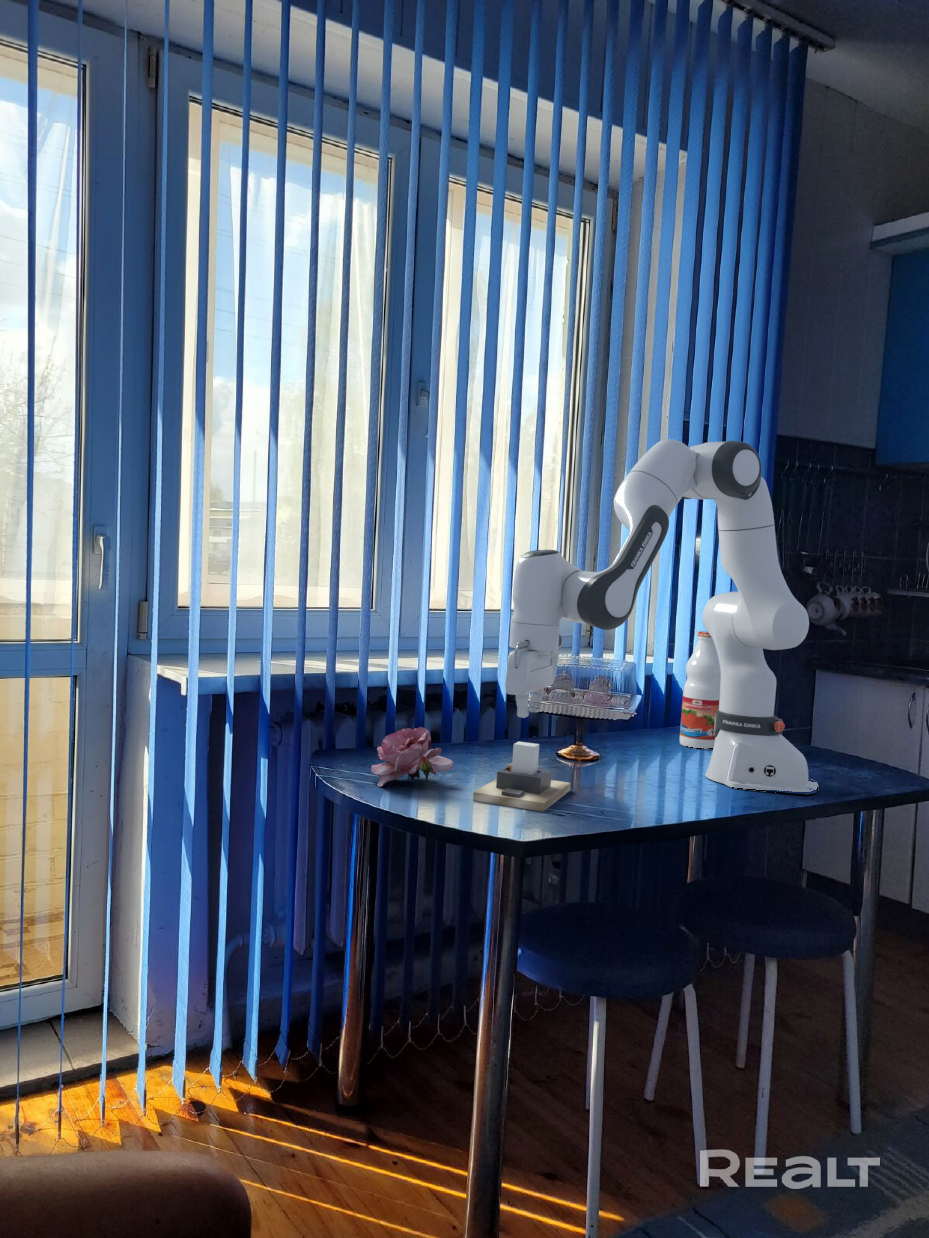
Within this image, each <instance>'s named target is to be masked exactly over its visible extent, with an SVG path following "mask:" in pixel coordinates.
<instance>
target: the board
mask: <svg viewBox="0 0 929 1238" xmlns="http://www.w3.org/2000/svg"><path fill="white" fill-rule="evenodd" d="M496 783H497V778H495V779H493V780H492V781H490V782H488V783H486V784H485V785H483V786H482V787H480V788H478V789H477V790H475V791H473V795H472V801H475V802H480V803H487V804H492V805H493V804H494V805H499V806H507V807H512V808H519V809H525V810H531V811H537V812H545V811H546V810H547V809H549V808H550V807H551V806H552V805H554V804H555V803H557V802H558V801H559V800H560V799H561V798H562V797H564V796H565V795H566V794H567V793H569V792H570V791H571V782H566V781H561V780H554V779H553V780H552V779H551V787H549V788H548V789H547V790H545V791H544V792H542V793H541V794H540V795H539V794H532V793H526V792H524V791H523V790H517V789H510V788H507V789H499V788H496Z"/></svg>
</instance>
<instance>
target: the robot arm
mask: <svg viewBox="0 0 929 1238" xmlns="http://www.w3.org/2000/svg"><path fill="white" fill-rule="evenodd" d="M762 469H763V468H762V462H761V459H760V457H759V454H758V452H757V450H756V449H755V448H754V447H753V445H751V444H749V443H746V442H743V441H738V440H729V441H728V440H727V441H708V442H703V443H701V444H696V445H695V444H694V445H691V446H688V445H687V444H685V443H684V442H683V441H680V440H677V439H673V438H665V439H661V440H659V441H658V442H656V443H655V444H654V445H653V446H651V448H649V449H648V450H647V451H646V452H645V453H644V454H643V455H642V457H641V458H640V459H639V460H638V461H637V462H636V463H635V465H633V466H632V468H631V470H630V471H629V472H628V474H627V475H626V476H625V478H624V479H623V480H622V482H621V483H620V485H619V487H618V488H617V490H616V492H615V495H614V498H613V508H614V512H615V515H616V517H617V518H618V520H619V521H620V522H621V524H622V525H623V526H624V527H625V528H626V529H627V530H628V531H629V533H628V535H627V538H626V539H625V541H624V542H623V545H622V546H621V548H620V549H619V552H618V554H617V555H616V556H615V559H614V561H613V562H612V564H611V565H610V566H608V567H607V568H605V569H603V570H601V571H588V570H582V568H579V567H577V566H575V565H574V564H572V563H570V562H569V561H568V560H566V559H565V557H564V556H562V553H561V552H560V551H559V550H556V549H535V550H530V551H526V552H525V553H523V554H522V555H520V556H519V558H518V560H517V563H516V566H515V567H516V568H515V570H514V571H515V572H514V578H513V584H512V585H513V586H512V602H513V613H512V614H511V615H512V616H511V619H510V626H509V627H510V630H509V631H510V632H509V644H508V646H509V647H510V648H511V649H512V648H513V649H514V650H512V651H510V653H509V655H508V659H507V660H508V661H507V665H506V673H505V674H506V675H505V682H504V687H505V693H506V694H507V695H515V702H516V708H517V709H516V711H517V712H516V716H517V717H518V718H522V719H525V718H527V717H529V714H530V713H538V712H541V704H542V700H543V698H544V697H543V696H544V693H545V688H546V687H550V686H553V684H554V683H555V679H556V676H557V675H556V674H557V670H558V664H559V662H558V661H559V653H560V651H559V649H560V648H562V646H563V635H562V634H561V633H560V624H561V623H560V621H561V620H564V621H568V622H574V623H577V624H582V625H589V626H590V627H594V628H596V629H597V628H598V629H600V630H604V631H605V630H606V631H610V630H615V629H616V628H618V627H620V626H621V625H623V624H624V623H625V622H626V621H627V620H628V619H629V617H630V616H631V614H632V611H633V609H634V605H635V603H636V599H637V595H638V592H639V589H640V587H641V585H642V583H643V581H644V579H645V577H646V576H647V574H648V571H649V570H650V568H651V566H652V564H653V562H654V560H655V559H656V556H657V555H658V554H659V551H660V549H661V547H662V545H663V543H664V541H665V539H666V536H667V535H668V531H669V526H670V517H671V515H672V513H673V512H674V510H675V509H676V507H677V505H678V504H679V503H680V500H682V499H684V500H691V499H695V500H713V502H714V503H715V505H716V507H717V528H718V529H717V530H718V541H719V551H720V552H719V553H720V564H721V567H722V570H723V571H724V572H725V573H726V574H727V575H728V576H729V577H730V579H732V581H733V583H734V585H735V587H736V590H737V591H729V592H723V593H720V594H716V595H714V596H712V597H711V598H710V599H709V600H708V601H707V602H706V604H705V606H704V608H703V611H702V622H703V626H704V629H705V630H706V632H708V633H709V634H710V635H711V637H712V639H713V641H714V644H715V647H716V650H717V654H718V658H719V663H720V671H721V683H720V700H719V709H718V710H717V712H716V716H715V727H714V732H715V743H714V748H713V749H712V753H711V757H710V760H709V764H708V765H707V769H706V772H705V774H704V775H705V777H706V778H707V779H709V780H711V781H714V782H717V783H719V784H724V785H725V786H727V787H729V788H732V787H734V788H733V789H737V788H743V789H742V790H746V789H756V790H777V791H778V790H779V791H790V792H791V791H792V792H811V791H813V790H816V789H817V787H818V788H819V783H818V782H817V781H816V782H811V781H808V780H809V779H808V778H809V768H808V766H809V765H808V762H807V760H806V757H805V756H804V754H803V753H802V752H801V751H800V750H799V749H798V748H797V747H795V746H794V744H792V743H791V742H790V741H789V740H788V739H786V737H784V736H783V731H784V730H785V727H786V725H785V723H784V721H783V719H782V718H779V717H778V716H776V715H775V705H776V692H777V691H776V690H777V677H776V676H775V674H774V673H775V672H773V670H771V669H770V667H769V665H768V664H767V660H766V659H765V655H764V650H771V651H778V650H779V651H780V650H787V649H793V648H796V647H798V646H799V645H801V644H802V642H803V641H804V640H805V639H806V637H807V634H808V632H809V629H810V628H809V627H810V621H809V620H810V619H809V613H808V612H807V610H806V609H807V608H805V607H804V606H803V605H802V604H801V603H800V602H799V601H798V599H797V598H795V596H794V595H793V593H792V592H791V590H790V588H789V585H787V582H786V579H785V578H784V575H783V573H782V570H781V566H780V562H779V558H778V548H777V540H776V539H777V538H776V530H775V528H776V527H775V519H774V517H775V516H774V510H773V509H774V508H773V503H772V499H771V496H770V491H769V488H768V485H767V484H768V483H767V481H766V480H765V479H764V478H763V477H762V473H763V472H762V471H763V470H762ZM530 694H531V697H530ZM529 699H530V701H529ZM810 779H811V778H810ZM811 780H813V779H811ZM810 789H811V790H810ZM756 790H755V791H756Z"/></svg>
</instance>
